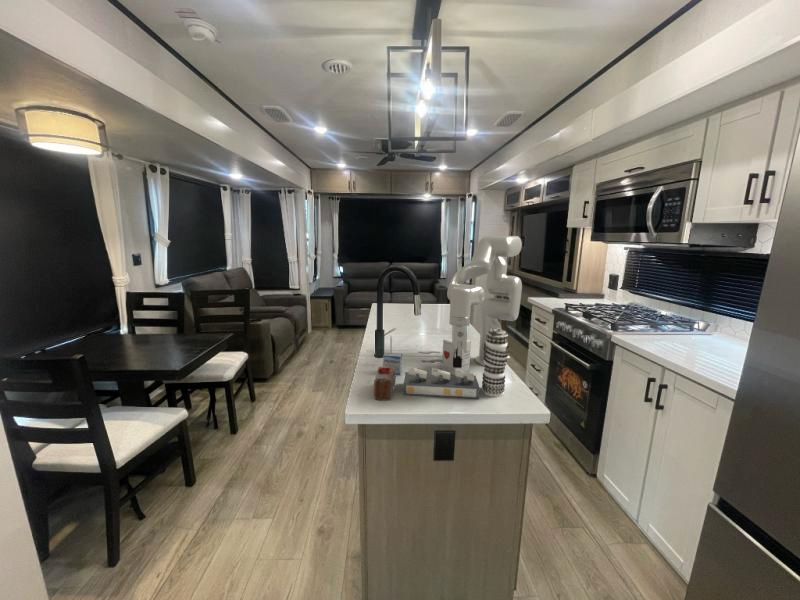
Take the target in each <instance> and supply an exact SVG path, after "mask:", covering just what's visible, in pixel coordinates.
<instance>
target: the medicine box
mask: <svg viewBox="0 0 800 600" xmlns="http://www.w3.org/2000/svg"><path fill="white" fill-rule="evenodd" d="M382 366H387V367H391V368H393V371H395V373H396V376H401V374H402V371H403V369H402V368H403V353H397V352H384V353H383V356H382Z"/></svg>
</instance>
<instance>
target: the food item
mask: <svg viewBox="0 0 800 600" xmlns="http://www.w3.org/2000/svg"><path fill="white" fill-rule="evenodd" d="M396 377H397V375H396V373H395V371H393V368H391V367H387V366H383V365H382V366H378V367H377V370H376V373H375V378H374V382H373V385H374V386H373V393H374V398H375V400H377V401H391V400H392V396H393V394H394V388H395V385H396Z"/></svg>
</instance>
